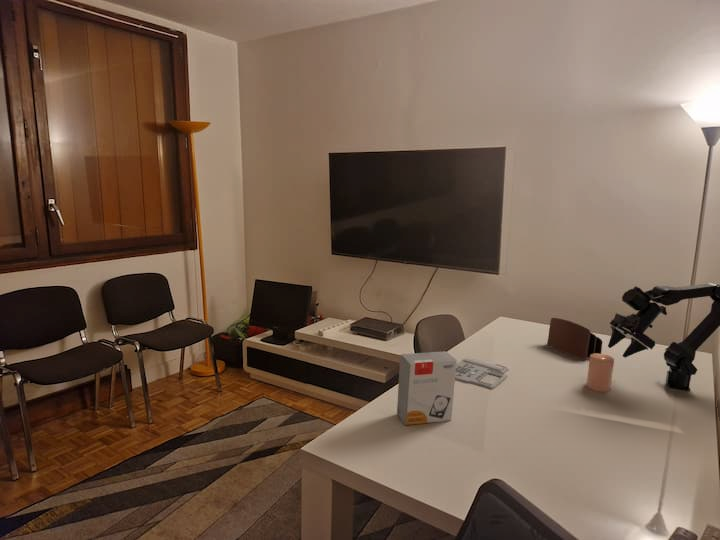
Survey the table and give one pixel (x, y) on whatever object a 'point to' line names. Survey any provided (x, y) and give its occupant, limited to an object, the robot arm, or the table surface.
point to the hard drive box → (426, 387)
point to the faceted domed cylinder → (600, 372)
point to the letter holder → (573, 339)
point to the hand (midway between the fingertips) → (616, 351)
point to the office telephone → (479, 372)
